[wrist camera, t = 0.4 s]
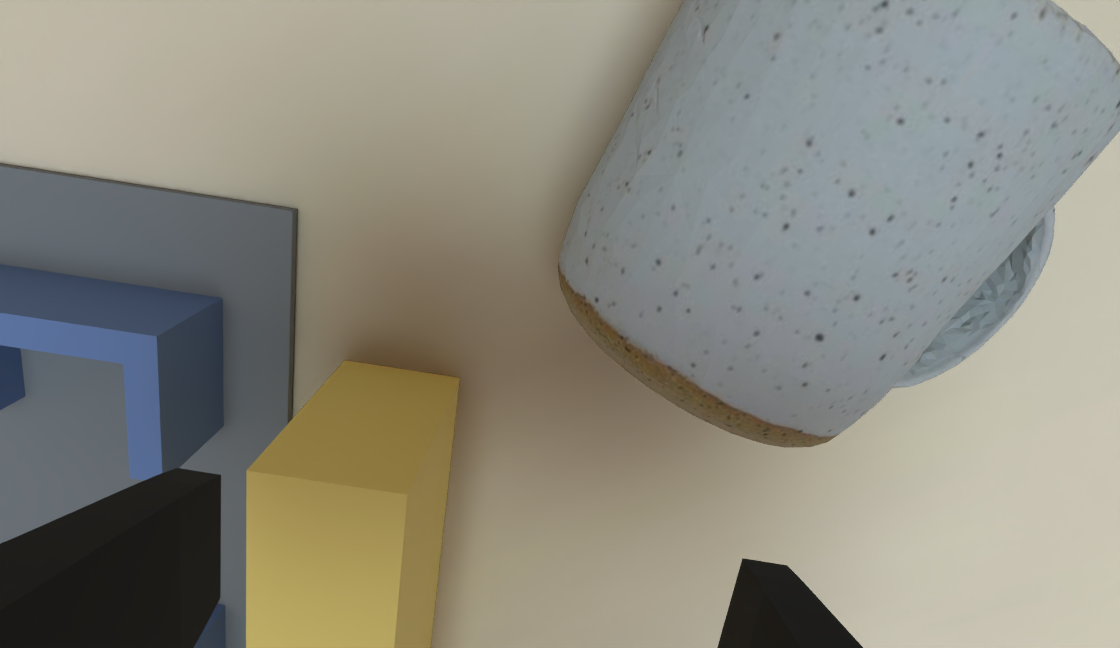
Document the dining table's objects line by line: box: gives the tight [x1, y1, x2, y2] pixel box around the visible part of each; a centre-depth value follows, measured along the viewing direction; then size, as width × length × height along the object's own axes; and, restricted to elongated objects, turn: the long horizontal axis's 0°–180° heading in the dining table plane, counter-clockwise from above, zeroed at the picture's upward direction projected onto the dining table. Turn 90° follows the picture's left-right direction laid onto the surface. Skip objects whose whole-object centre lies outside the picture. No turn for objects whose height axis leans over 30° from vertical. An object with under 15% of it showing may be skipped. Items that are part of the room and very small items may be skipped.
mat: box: [0, 164, 297, 648], centre depth 21 cm, size 19×10×1 cm, turn 172°
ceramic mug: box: [558, 0, 1120, 447], centre depth 14 cm, size 11×8×8 cm
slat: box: [246, 360, 460, 648], centre depth 19 cm, size 11×3×6 cm, turn 172°
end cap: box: [0, 264, 224, 480], centre depth 18 cm, size 4×6×3 cm, turn 82°
